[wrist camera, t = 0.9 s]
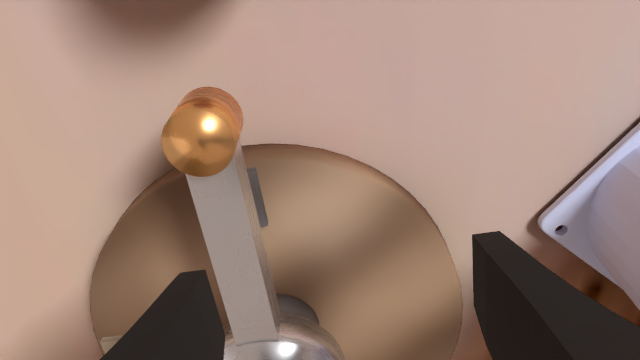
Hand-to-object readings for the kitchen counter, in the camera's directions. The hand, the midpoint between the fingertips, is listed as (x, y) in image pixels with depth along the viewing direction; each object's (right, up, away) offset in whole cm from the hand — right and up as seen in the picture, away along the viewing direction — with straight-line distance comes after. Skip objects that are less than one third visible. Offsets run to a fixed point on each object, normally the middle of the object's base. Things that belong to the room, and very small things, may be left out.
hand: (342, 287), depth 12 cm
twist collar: (-3, -1, +7) cm, 8 cm away
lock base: (-2, -3, +12) cm, 13 cm away
